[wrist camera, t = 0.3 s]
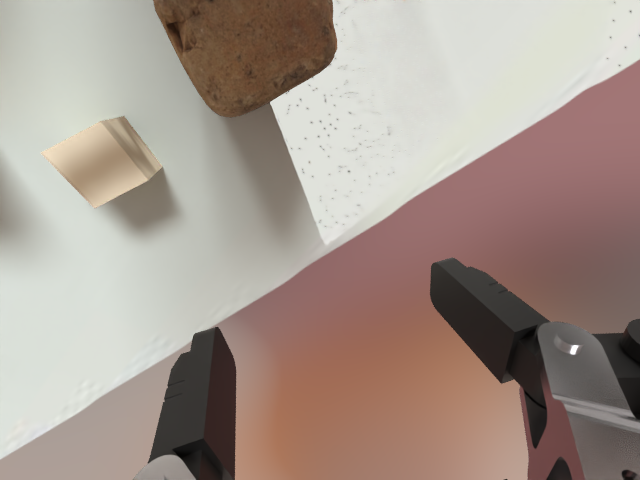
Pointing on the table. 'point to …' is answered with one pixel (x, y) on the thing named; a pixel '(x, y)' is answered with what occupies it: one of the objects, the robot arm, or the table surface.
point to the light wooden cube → (104, 160)
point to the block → (249, 47)
